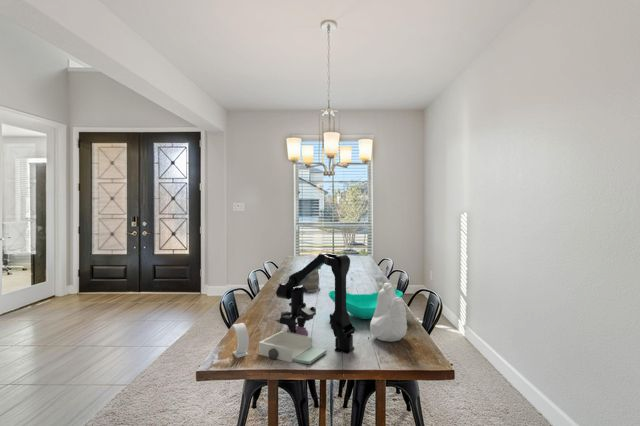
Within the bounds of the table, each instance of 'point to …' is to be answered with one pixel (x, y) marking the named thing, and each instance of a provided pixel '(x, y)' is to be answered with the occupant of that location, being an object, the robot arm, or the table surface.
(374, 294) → the table top decor
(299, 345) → the wagon bed
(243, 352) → the headphone stand
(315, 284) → the tankard
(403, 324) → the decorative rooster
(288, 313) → the black grey mechanical block
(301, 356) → the panel
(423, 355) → the table surface
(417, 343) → the table surface
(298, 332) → the dome-topped mauve block
